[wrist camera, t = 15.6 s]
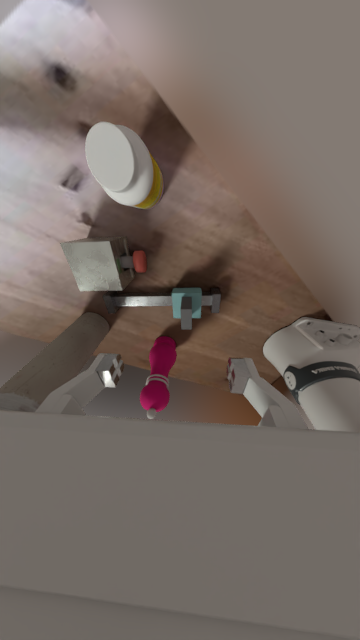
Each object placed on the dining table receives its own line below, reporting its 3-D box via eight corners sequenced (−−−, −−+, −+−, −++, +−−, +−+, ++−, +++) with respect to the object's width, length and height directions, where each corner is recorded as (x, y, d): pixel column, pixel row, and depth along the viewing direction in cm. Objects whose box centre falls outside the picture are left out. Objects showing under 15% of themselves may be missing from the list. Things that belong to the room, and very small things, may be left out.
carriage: (200, 285, 34) (203, 305, 26) (199, 309, 37) (202, 332, 29) (173, 285, 34) (168, 305, 26) (175, 309, 37) (171, 332, 30)
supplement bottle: (168, 164, 24) (150, 120, 13) (160, 214, 27) (140, 212, 17) (125, 149, 23) (69, 88, 12) (122, 202, 27) (77, 191, 16)
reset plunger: (144, 248, 29) (139, 252, 26) (147, 269, 31) (143, 274, 28) (87, 250, 30) (75, 254, 27) (94, 270, 32) (84, 276, 29)
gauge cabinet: (126, 236, 29) (110, 241, 23) (135, 277, 34) (122, 290, 28) (86, 237, 30) (59, 243, 24) (100, 277, 34) (80, 291, 28)
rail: (218, 287, 34) (220, 294, 31) (216, 305, 37) (218, 312, 34) (109, 289, 36) (102, 295, 33) (115, 305, 38) (108, 313, 35)
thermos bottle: (91, 338, 45) (-14, 466, 22) (73, 316, 41) (-80, 445, 18) (114, 332, 43) (27, 465, 20) (98, 308, 39) (-37, 441, 16)
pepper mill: (148, 343, 45) (123, 416, 28) (164, 330, 42) (147, 404, 25) (166, 356, 47) (153, 430, 31) (182, 344, 44) (178, 420, 28)
